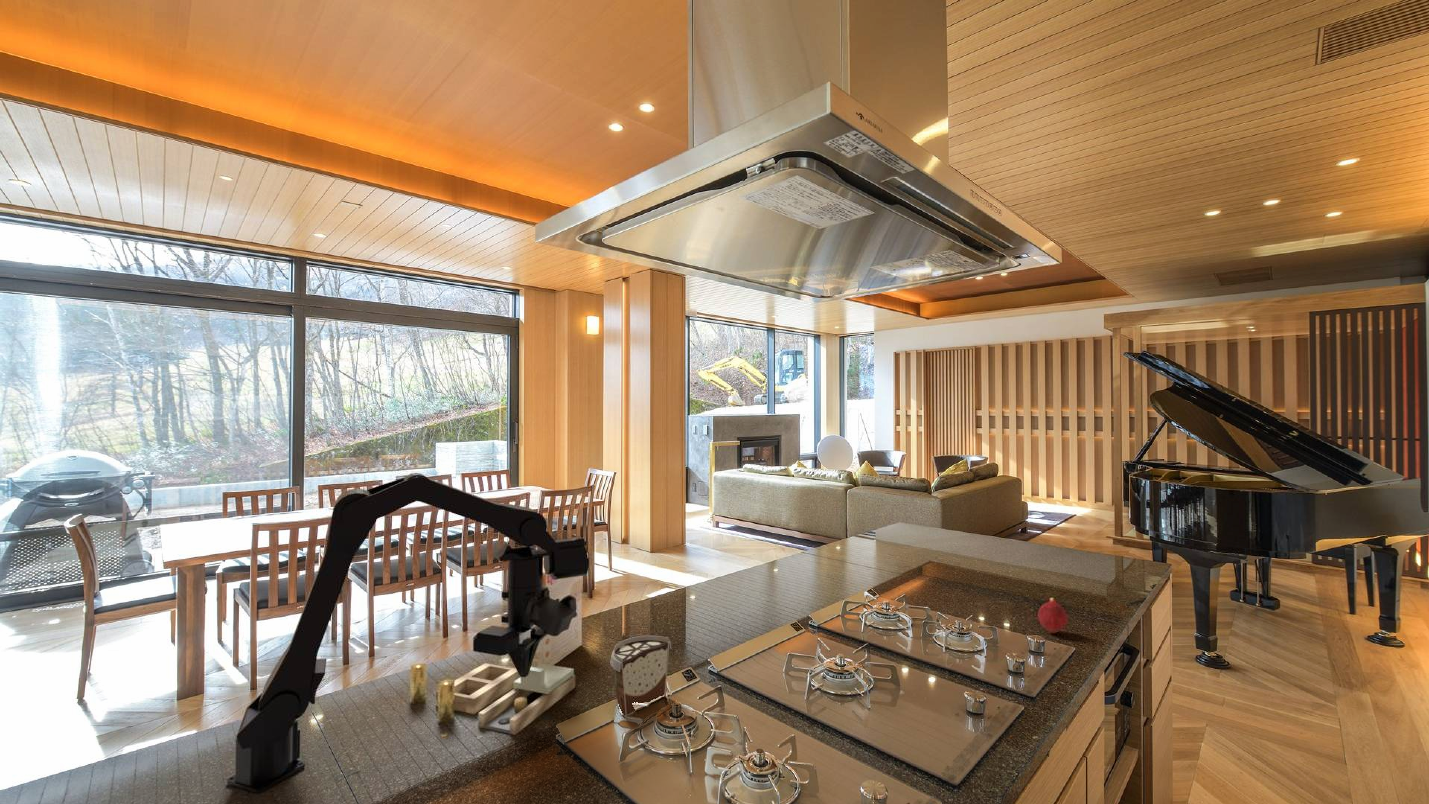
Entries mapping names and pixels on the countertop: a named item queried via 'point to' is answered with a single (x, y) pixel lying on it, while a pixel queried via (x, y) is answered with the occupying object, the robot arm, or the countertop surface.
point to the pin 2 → (446, 701)
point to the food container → (640, 670)
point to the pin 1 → (418, 683)
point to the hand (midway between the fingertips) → (524, 676)
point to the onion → (1052, 616)
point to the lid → (543, 678)
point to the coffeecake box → (568, 640)
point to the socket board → (482, 687)
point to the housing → (520, 708)
